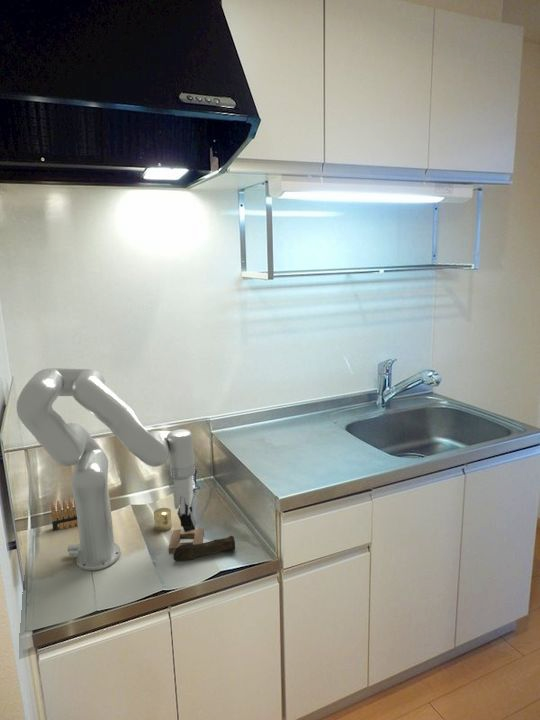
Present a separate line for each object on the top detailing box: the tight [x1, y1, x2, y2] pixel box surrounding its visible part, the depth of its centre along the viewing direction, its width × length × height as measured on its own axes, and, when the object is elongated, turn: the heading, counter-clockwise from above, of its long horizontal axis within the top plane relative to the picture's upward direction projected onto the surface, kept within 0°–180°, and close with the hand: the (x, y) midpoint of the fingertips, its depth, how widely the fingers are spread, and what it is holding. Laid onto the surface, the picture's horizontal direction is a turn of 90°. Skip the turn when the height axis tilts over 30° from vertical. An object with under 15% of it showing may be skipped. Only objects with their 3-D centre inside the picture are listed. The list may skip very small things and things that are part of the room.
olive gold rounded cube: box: [153, 507, 173, 533], centre depth 154 cm, size 6×6×6 cm
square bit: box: [177, 506, 197, 532], centre depth 145 cm, size 3×3×7 cm
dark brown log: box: [172, 535, 236, 562], centre depth 140 cm, size 19×4×5 cm, turn 106°
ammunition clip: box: [50, 497, 78, 532], centre depth 154 cm, size 11×2×12 cm, turn 113°
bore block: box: [168, 527, 205, 554], centre depth 146 cm, size 10×10×2 cm
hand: (187, 521), depth 145 cm, fingers closed on square bit, 3 cm apart
